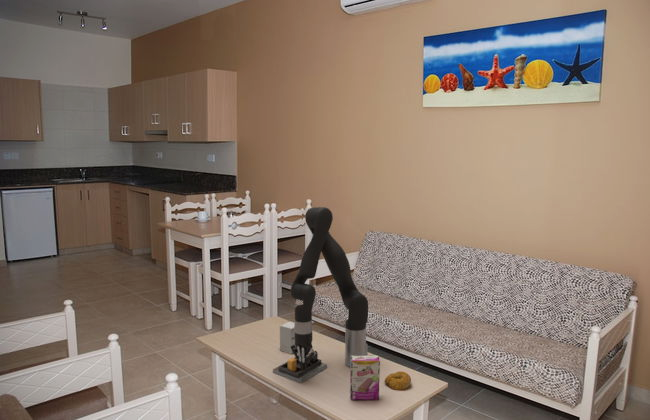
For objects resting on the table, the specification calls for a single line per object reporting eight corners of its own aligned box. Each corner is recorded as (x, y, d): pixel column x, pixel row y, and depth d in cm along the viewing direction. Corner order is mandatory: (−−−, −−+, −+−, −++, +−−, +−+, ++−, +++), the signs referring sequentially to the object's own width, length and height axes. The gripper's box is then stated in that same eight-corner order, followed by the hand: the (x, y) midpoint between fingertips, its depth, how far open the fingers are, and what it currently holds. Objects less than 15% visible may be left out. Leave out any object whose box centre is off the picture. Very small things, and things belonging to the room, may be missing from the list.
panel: (272, 372, 215) (272, 358, 214) (299, 358, 229) (299, 344, 228) (301, 383, 205) (301, 367, 204) (327, 367, 219) (327, 353, 218)
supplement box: (291, 354, 233) (290, 328, 231) (279, 350, 237) (279, 325, 236) (301, 349, 239) (300, 324, 237) (289, 345, 243) (289, 320, 242)
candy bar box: (350, 401, 191) (351, 360, 189) (349, 394, 196) (349, 355, 194) (379, 400, 191) (380, 360, 189) (377, 393, 196) (378, 354, 194)
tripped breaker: (287, 371, 212) (287, 360, 211) (292, 369, 214) (292, 358, 214) (291, 373, 210) (291, 361, 210) (296, 370, 213) (296, 359, 212)
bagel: (389, 376, 211) (389, 366, 210) (414, 382, 206) (414, 372, 205) (380, 387, 202) (381, 376, 201) (406, 393, 197) (407, 382, 196)
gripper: (321, 331, 205) (321, 370, 207) (297, 324, 213) (297, 362, 215) (310, 336, 199) (310, 377, 201) (285, 329, 207) (286, 368, 209)
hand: (303, 369), depth 208 cm, fingers closed
